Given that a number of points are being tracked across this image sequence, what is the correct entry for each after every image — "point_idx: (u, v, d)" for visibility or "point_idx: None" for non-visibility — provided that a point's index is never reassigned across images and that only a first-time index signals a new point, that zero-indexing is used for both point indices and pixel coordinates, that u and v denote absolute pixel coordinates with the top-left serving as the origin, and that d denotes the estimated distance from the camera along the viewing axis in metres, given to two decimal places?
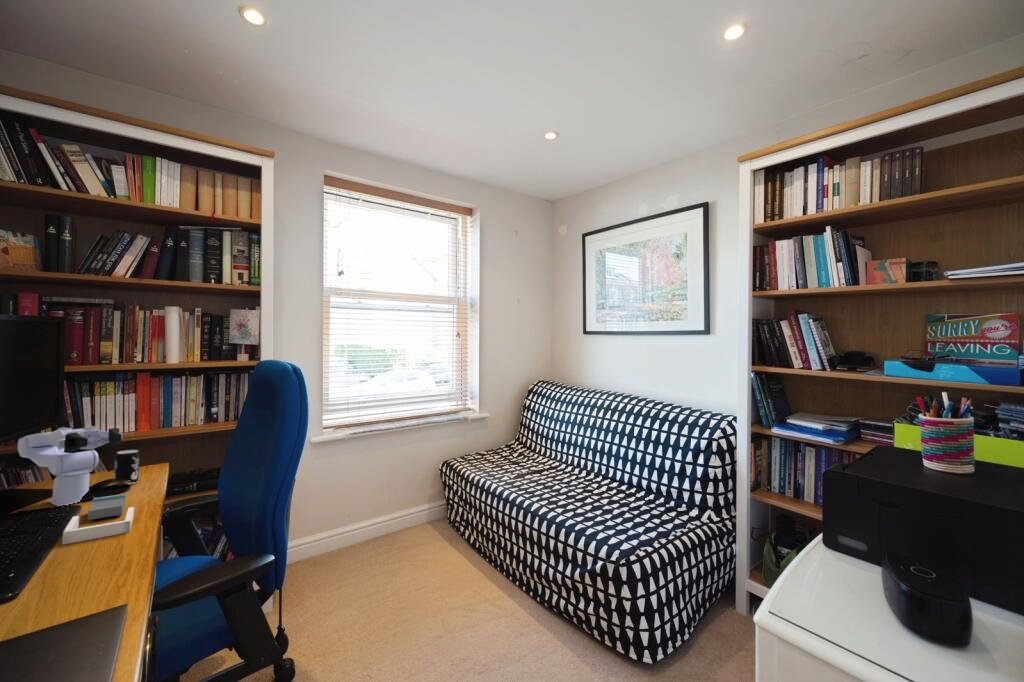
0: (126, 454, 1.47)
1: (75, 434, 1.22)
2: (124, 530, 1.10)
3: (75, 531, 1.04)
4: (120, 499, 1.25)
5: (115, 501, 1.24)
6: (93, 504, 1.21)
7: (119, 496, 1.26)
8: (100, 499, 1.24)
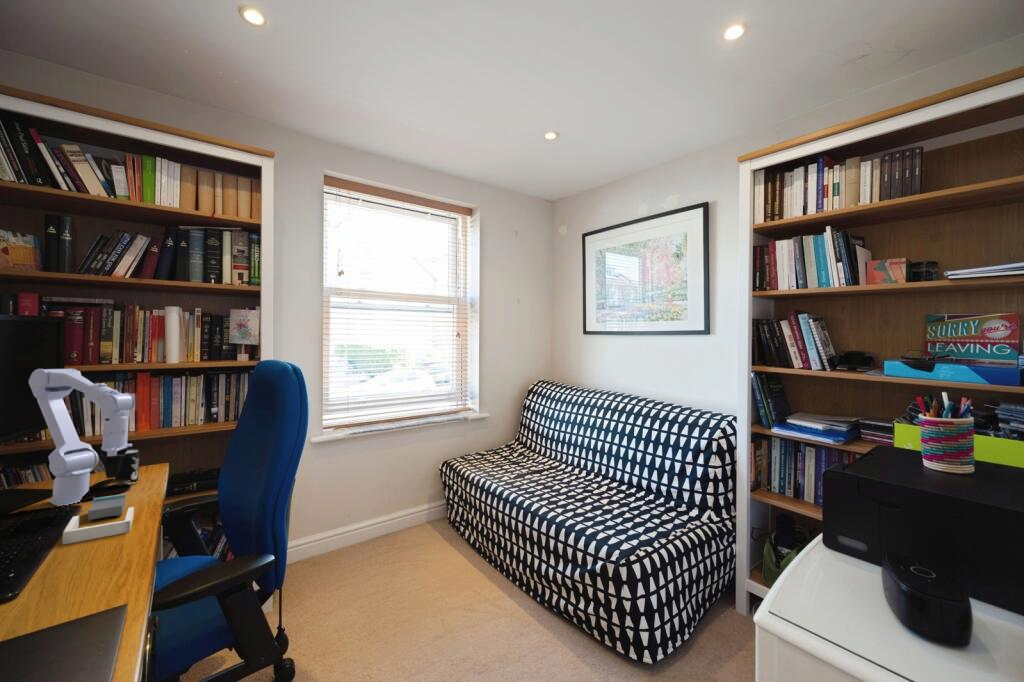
0: (126, 454, 1.47)
1: (122, 458, 1.28)
2: (124, 530, 1.10)
3: (75, 531, 1.04)
4: (120, 499, 1.25)
5: (115, 501, 1.24)
6: (93, 504, 1.21)
7: (119, 496, 1.26)
8: (100, 499, 1.24)
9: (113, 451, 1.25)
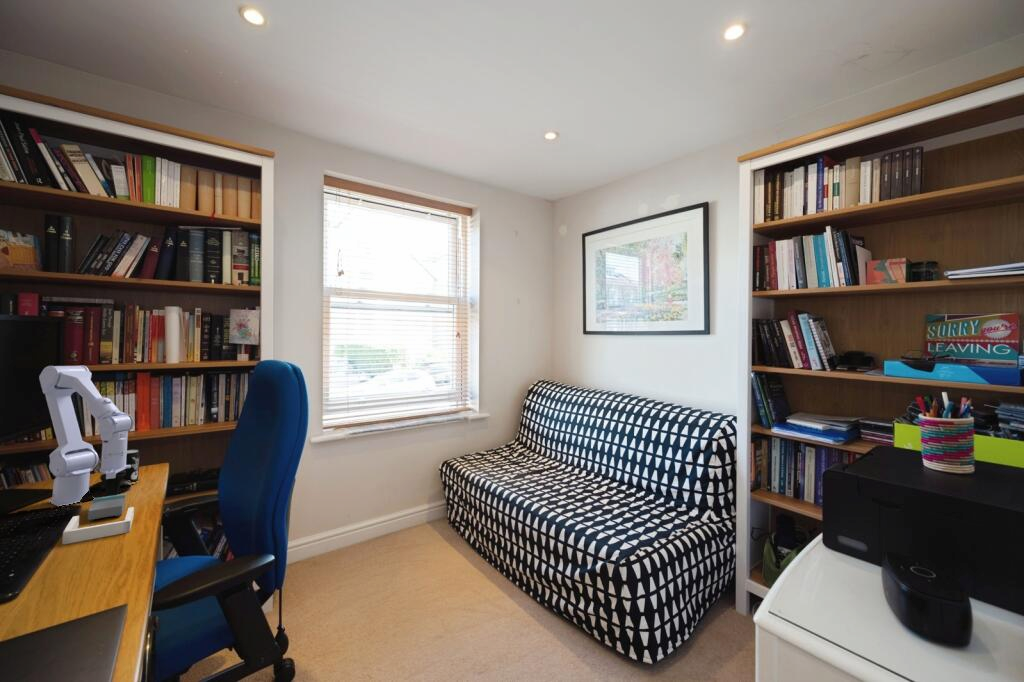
0: None
1: (122, 477, 1.30)
2: (124, 530, 1.10)
3: (75, 531, 1.04)
4: (120, 499, 1.25)
5: (115, 501, 1.24)
6: (93, 504, 1.21)
7: (119, 496, 1.26)
8: (100, 499, 1.24)
9: (112, 473, 1.24)
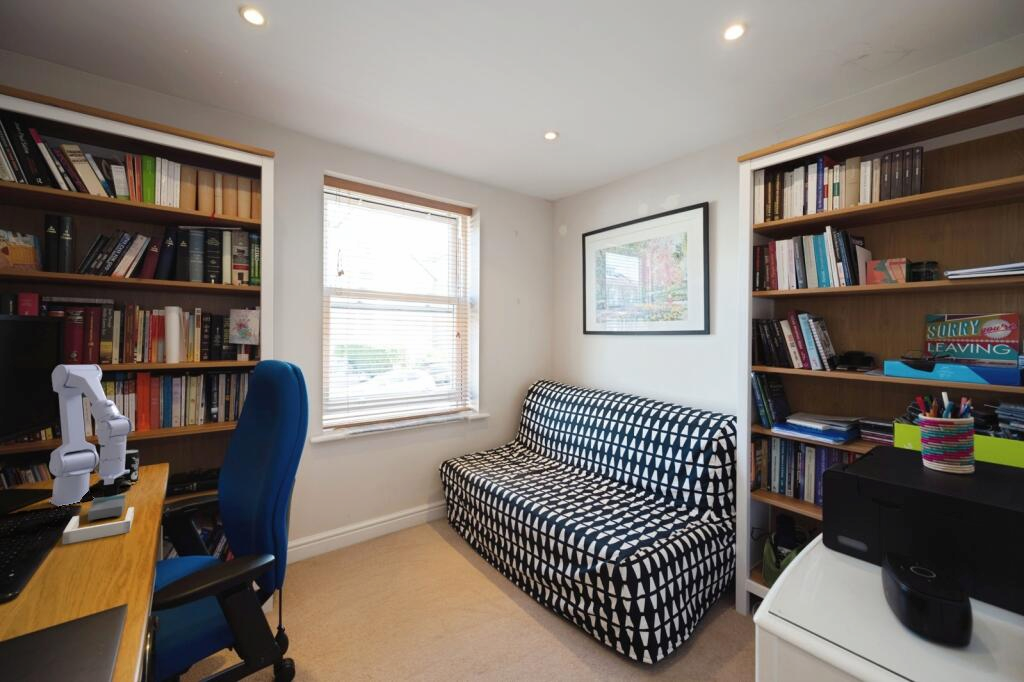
0: (126, 454, 1.47)
1: None
2: (124, 530, 1.10)
3: (75, 531, 1.04)
4: (120, 499, 1.25)
5: (115, 501, 1.23)
6: (93, 504, 1.20)
7: (119, 496, 1.26)
8: (100, 499, 1.23)
9: (110, 479, 1.21)
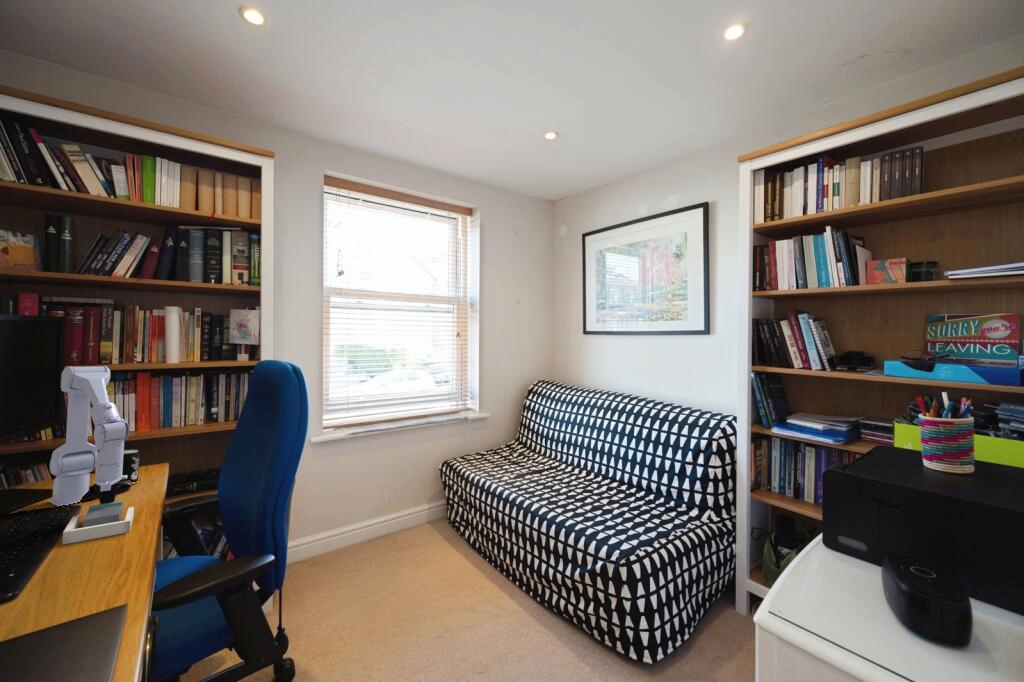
0: (126, 454, 1.47)
1: (118, 489, 1.22)
2: (124, 530, 1.10)
3: (75, 531, 1.04)
4: (117, 506, 1.19)
5: (111, 509, 1.18)
6: (88, 512, 1.15)
7: (116, 503, 1.20)
8: (96, 507, 1.18)
9: (107, 485, 1.16)
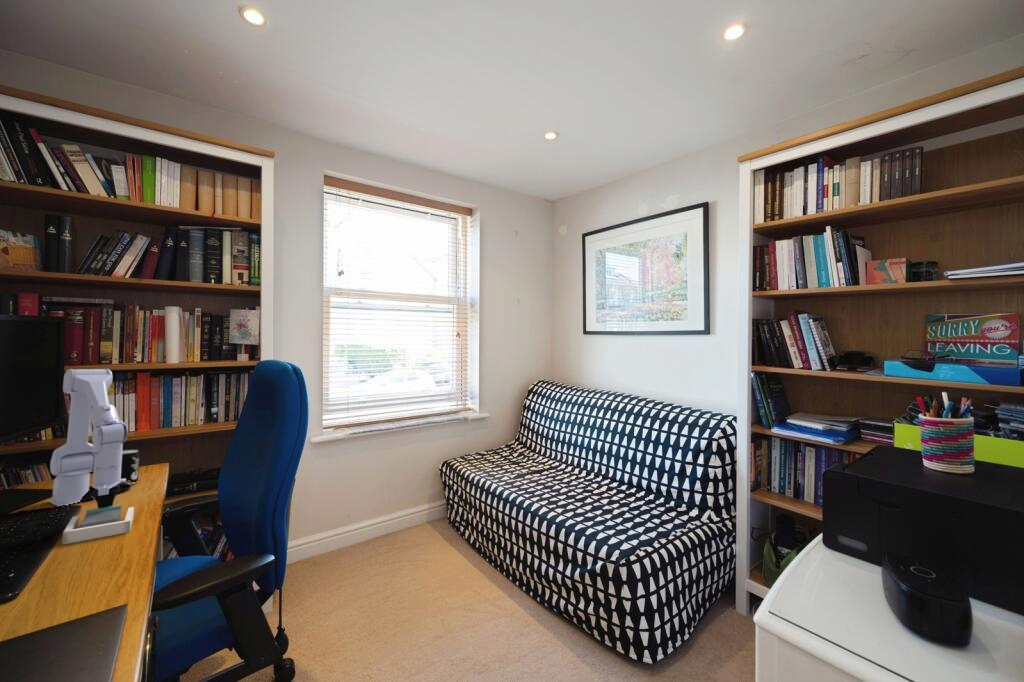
0: (126, 454, 1.47)
1: (116, 493, 1.19)
2: (124, 530, 1.10)
3: (75, 531, 1.04)
4: (115, 511, 1.16)
5: (110, 513, 1.15)
6: (86, 517, 1.12)
7: (114, 507, 1.17)
8: (94, 511, 1.15)
9: (105, 489, 1.12)
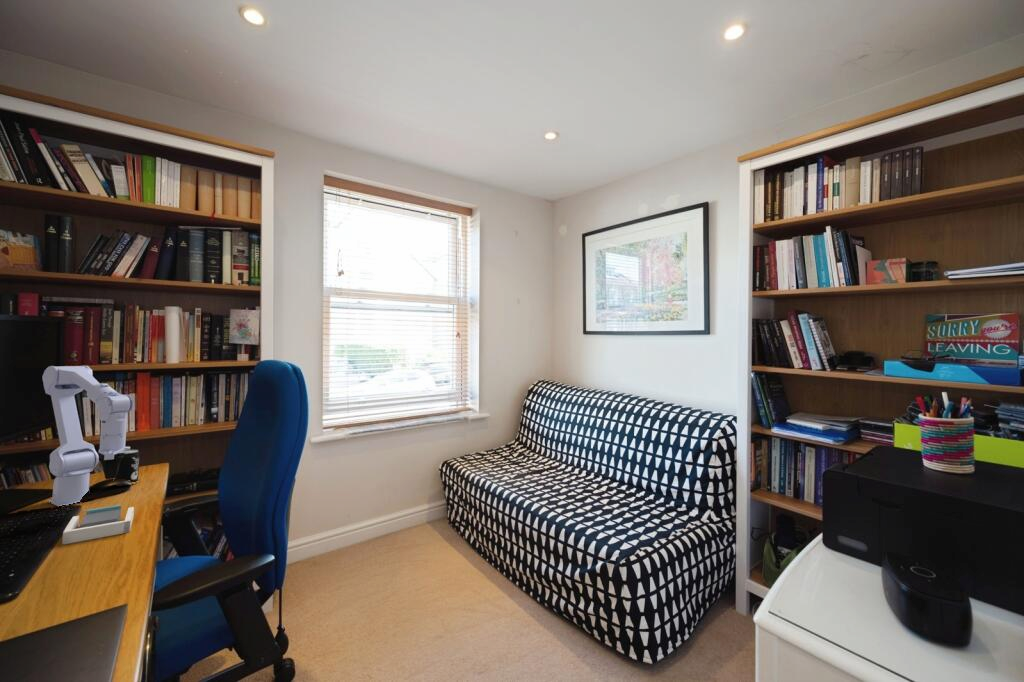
0: (126, 454, 1.47)
1: (121, 459, 1.28)
2: (124, 530, 1.10)
3: (75, 531, 1.04)
4: (115, 511, 1.16)
5: (110, 513, 1.14)
6: (86, 517, 1.12)
7: (114, 507, 1.17)
8: (94, 511, 1.15)
9: (110, 454, 1.21)
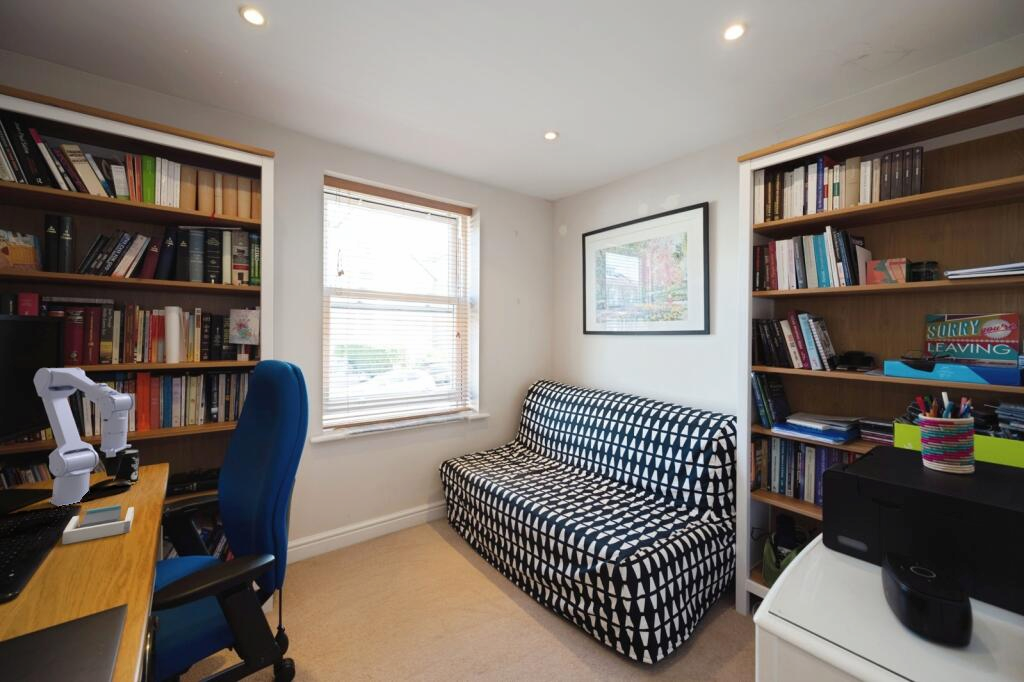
0: (126, 454, 1.47)
1: (122, 457, 1.30)
2: (124, 530, 1.10)
3: (75, 531, 1.04)
4: (115, 511, 1.16)
5: (110, 513, 1.14)
6: (86, 517, 1.12)
7: (114, 507, 1.17)
8: (94, 511, 1.15)
9: (112, 452, 1.24)
